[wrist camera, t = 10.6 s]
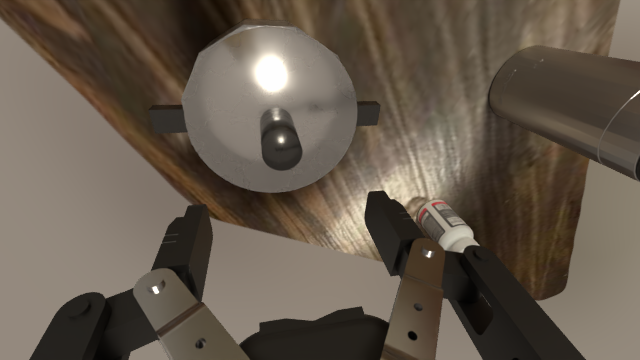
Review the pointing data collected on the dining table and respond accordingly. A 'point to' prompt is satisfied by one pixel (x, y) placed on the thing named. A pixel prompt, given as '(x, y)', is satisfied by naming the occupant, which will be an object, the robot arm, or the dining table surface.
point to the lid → (270, 109)
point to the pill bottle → (445, 226)
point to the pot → (173, 115)
